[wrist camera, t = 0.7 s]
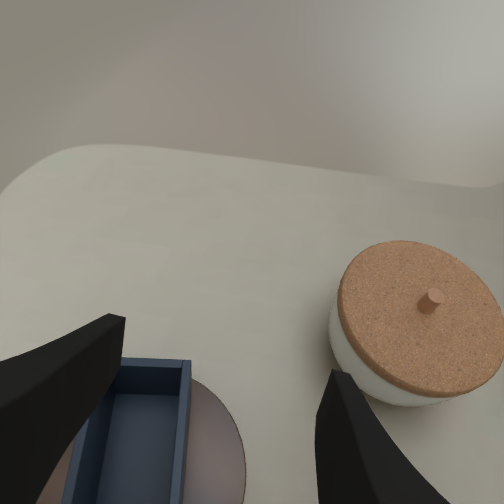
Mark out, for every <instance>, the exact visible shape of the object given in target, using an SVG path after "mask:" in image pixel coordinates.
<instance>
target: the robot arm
mask: <svg viewBox="0 0 504 504" xmlns="http://www.w3.org/2000/svg"><path fill="white" fill-rule="evenodd" d="M125 320H126V317H122V316H118V315H114V314H110V313H108V314H106V315H104V316H102V317H100V318H98V319H96V320H94V321H92V322H90V323H89V324H87V325H85V326H83V327H81V328H79V329H77V330H75V331H73V332H71V333H69V334H67V335H65V336H63V337H61V338H58V339H56V340H54V341H52V342H49V343H47V344H45V345H43V346H40V347H38V348H36V349H34V350H31V351H29V352H26V353H23V354H21V355H18V356H15V357H12V358H9V359H6V360H3V361H0V504H36V502H37V500H38V498H39V496H40V494H41V493H42V491H43V489H44V487H45V485H46V484H47V482H48V480H49V478H50V476H51V475H52V473H53V471H54V469H55V468H56V466H57V464H58V462H59V461H60V459H61V457H62V456H63V454H64V453H65V451H66V449H67V448H68V446H69V445H70V443H71V442H72V441H73V439H74V438H75V436H76V435H77V433H78V432H79V431H80V429H81V428H82V426H83V425H84V424H85V422H86V421H87V419H88V418H89V417H90V415H91V414H92V412H93V411H94V410H95V408H96V407H97V405H98V404H99V402H100V401H101V400H102V398H103V397H104V395H105V394H106V392H107V391H108V389H109V387H110V385H111V383H112V382H113V380H114V378H115V376H116V374H117V372H118V370H119V368H120V366H121V357H122V348H123V338H124V329H125ZM315 459H316V473H317V487H318V500H319V504H450V503H449V502H448V501H447V500H446V499H445V498H444V497H443V496H442V495H440V494H439V493H438V492H437V491H436V490H435V488H434V487H433V486H432V485H431V484H430V483H429V482H428V481H427V480H426V479H425V478H424V477H423V476H422V475H421V474H420V473H419V472H418V471H417V470H416V469H415V467H414V466H413V465H412V464H411V463H410V462H409V460H408V459H407V458H406V457H405V456H404V454H403V453H402V452H401V451H400V450H399V448H398V447H397V446H396V444H395V443H394V442H393V440H392V439H391V438H390V436H389V435H388V434H387V432H386V431H385V429H384V428H383V426H382V425H381V424H380V422H379V421H378V419H377V418H376V416H375V414H374V413H373V411H372V410H371V408H370V406H369V405H368V403H367V401H366V400H365V398H364V396H363V395H362V393H361V391H360V390H359V388H358V386H357V384H356V383H355V381H354V379H353V378H352V376H351V374H350V373H346V372H342V371H338V370H334V369H332V371H331V374H330V377H329V380H328V383H327V386H326V388H325V391H324V394H323V397H322V400H321V403H320V406H319V409H318V412H317V415H316V426H315Z"/></svg>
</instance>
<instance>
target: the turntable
mask: <svg viewBox="0 0 504 504" xmlns="http://www.w3.org/2000/svg"><path fill="white" fill-rule="evenodd" d="M75 437H76V436H75ZM74 442H75V438H74V439H73V441H72V442H71V443H70V445H69V446H68V448H67V449H66V451H65V453H64V454H63V456H62V457H61V459H60V461H59V462H58V464H57V466H56V468H55V469H54V471H53V473H52V475H51V476H50V478H49V480H48V482H47V484H46V485H45V487H44V489H43V491H42V493H41V494H40V496H39V498H38V500H37V502H36V504H61V501H62V496H63V491H64V487H65V482H66V478H67V473H68V469H69V464H70V460H71V455H72V451H73V446H74ZM245 486H246V463H245V454H244V449H243V444H242V440H241V437H240V434H239V431H238V428H237V426H236V424H235V422H234V420H233V418H232V416H231V415H230V413H229V412H228V410H227V409H226V407H225V406H224V404H223V403H222V402H221V401H220V400H219V399H218V397H217V396H216V395H215V394H213V393H212V392H211V391H210V390H209V389H208V388H206V387H205V386H203V385H202V384H200V383H199V382H197V381H196V380H194V379H192V393H191V406H190V418H189V431H188V443H187V456H186V468H185V481H184V494H183V504H243V501H244V494H245Z"/></svg>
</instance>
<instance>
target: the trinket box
mask: <svg viewBox="0 0 504 504" xmlns="http://www.w3.org/2000/svg"><path fill="white" fill-rule="evenodd" d="M328 329H329V339H330V343H331V347H332V350H333V353H334V356H335V358H336V360H337V362H338V364H339V366H340V367H341V369H342V371H343V372H346V373H350V374H351V376H352V378H353V379H354V381H355V383H356V384H357V386H358V388H359V389H361V390H362V391H363V392H365V393H366V394H368V395H370V396H372V397H373V398H375V399H378V400H380V401H383V402H386V403H388V404H392V405H397V406H402V407H421V406H430V405H434V404H438V403H441V402H444V401H448V400H450V399H453V398H455V397H457V396H459V395H462V394H465V393H469V392H471V391H473V390H475V389H476V388H478V387H480V386H482V385H483V384H485V383H486V382H487V381H488V380H490V379H491V378H492V377H493V376H494V375H495V373H496V372H497V370H498V369H499V367H500V366H501V363H502V361H503V358H504V319H503V316H502V313H501V310H500V307H499V305H498V303H497V301H496V300H495V298H494V296H493V294H492V293H491V291H490V290H489V288H488V287H487V286H486V284H485V283H484V282H483V281H482V280H481V279H480V278H479V276H478V275H476V274H475V273H474V272H473V271H472V270H471V269H470V268H469V267H468V266H466V265H465V264H464V263H462V262H461V261H460V260H458V259H457V258H455V257H453V256H452V255H450V254H449V253H447V252H444V251H442V250H440V249H438V248H435V247H432V246H429V245H427V244H423V243H418V242H412V241H389V242H384V243H379V244H376V245H374V246H371V247H369V248H367V249H365V250H364V251H362V252H361V253H360V254H358V255H357V256H356V257H355V258H354V259H353V260H352V262H351V263H350V264H349V266H348V267H347V269H346V271H345V273H344V275H343V277H342V279H341V281H340V285H339V287H338V289H337V292H336V294H335V296H334V299H333V302H332V306H331V310H330V315H329V328H328Z"/></svg>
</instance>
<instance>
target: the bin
mask: <svg viewBox="0 0 504 504" xmlns="http://www.w3.org/2000/svg"><path fill="white" fill-rule="evenodd" d="M191 393H192V378H191V360H183V361H182V360H175V359H150V358H125V357H121V366H120V368H119V370H118V372H117V374H116V376H115V378H114V380H113V382H112V383H111V385H110V387H109V389H108V391H107V392H106V394H105V395H104V397H103V398H102V400H101V401H100V402H99V404H98V405H97V407H96V408H95V410H94V411H93V412H92V414H91V415H90V417H89V418H88V419H87V421H86V422H85V424H84V425H83V426H82V428H81V429H80V431H79V432H78V433H77V435H76V437H75V442H74V446H73V451H72V455H71V460H70V464H69V469H68V473H67V478H66V482H65V487H64V491H63V496H62V501H61V504H183V494H184V481H185V468H186V456H187V443H188V431H189V418H190V406H191Z"/></svg>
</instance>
